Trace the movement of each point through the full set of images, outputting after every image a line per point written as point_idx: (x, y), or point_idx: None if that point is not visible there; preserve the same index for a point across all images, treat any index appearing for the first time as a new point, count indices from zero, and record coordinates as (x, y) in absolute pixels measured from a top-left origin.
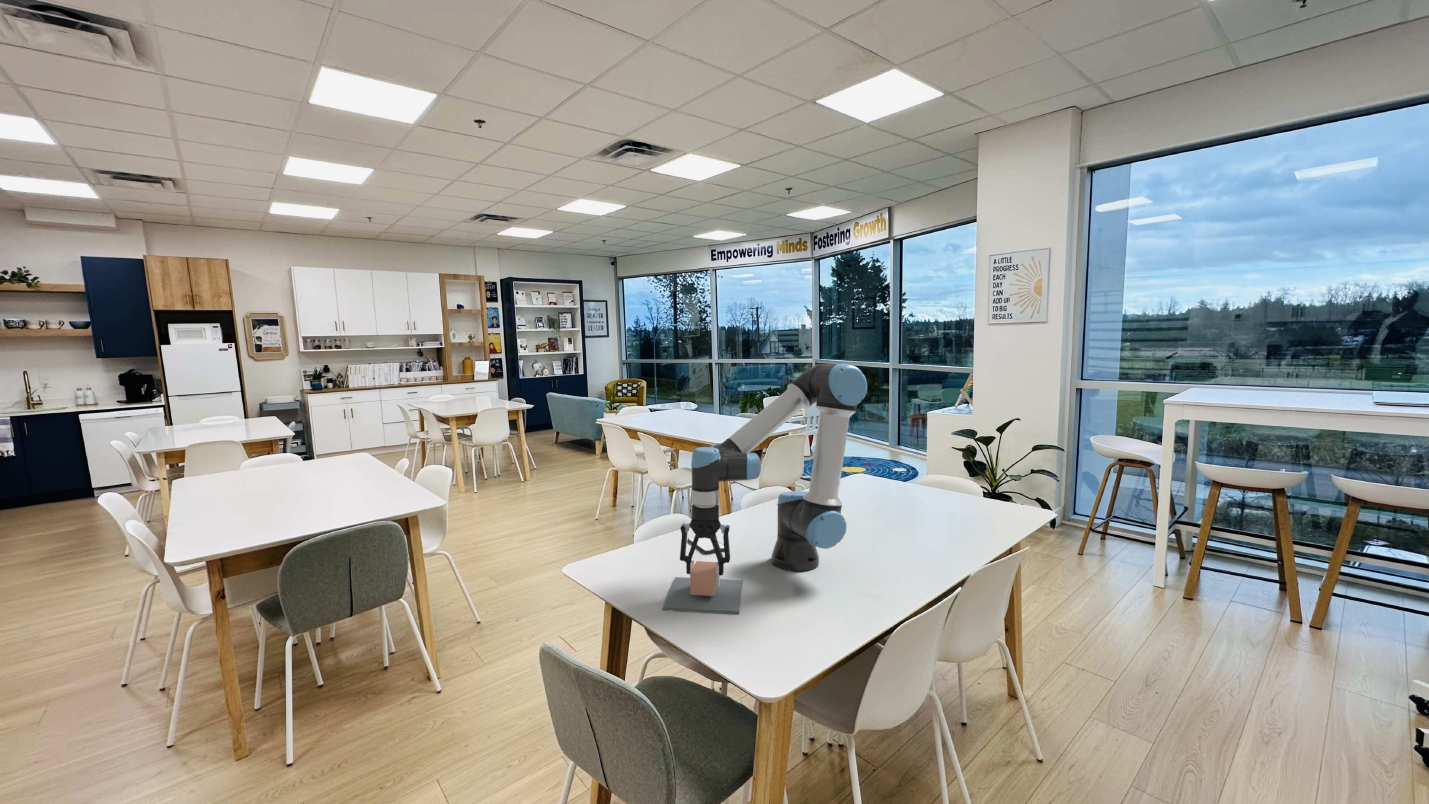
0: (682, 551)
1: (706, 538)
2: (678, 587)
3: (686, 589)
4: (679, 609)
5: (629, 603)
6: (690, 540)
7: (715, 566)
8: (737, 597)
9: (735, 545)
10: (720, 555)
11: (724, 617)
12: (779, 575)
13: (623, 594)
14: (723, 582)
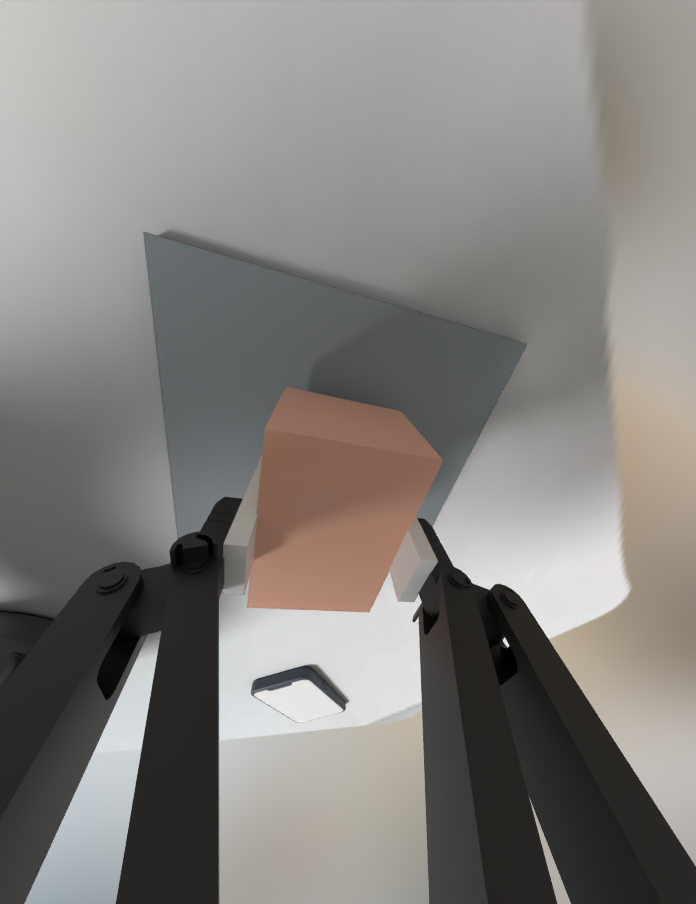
0: (552, 671)
1: (302, 715)
2: None
3: None
4: (456, 323)
5: (602, 416)
6: (340, 706)
7: (263, 565)
8: (178, 412)
9: (231, 700)
10: (162, 642)
11: (236, 204)
12: (52, 586)
13: (587, 479)
14: None
